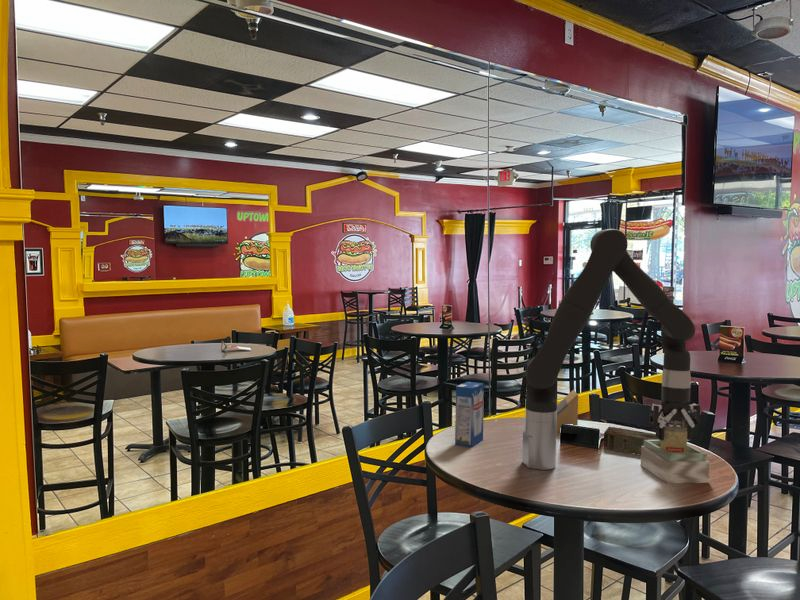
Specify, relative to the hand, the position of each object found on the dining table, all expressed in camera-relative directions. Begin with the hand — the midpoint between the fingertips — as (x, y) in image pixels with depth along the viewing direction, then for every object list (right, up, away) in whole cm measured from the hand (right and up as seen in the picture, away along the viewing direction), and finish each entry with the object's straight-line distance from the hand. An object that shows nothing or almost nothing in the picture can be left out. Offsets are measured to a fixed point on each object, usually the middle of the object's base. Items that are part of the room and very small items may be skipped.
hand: (674, 439), depth 164 cm
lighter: (0, -4, 0) cm, 4 cm away
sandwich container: (-23, -8, +45) cm, 51 cm away
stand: (0, -10, +1) cm, 10 cm away
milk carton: (-56, -8, +29) cm, 64 cm away
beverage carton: (-2, -10, +22) cm, 24 cm away
